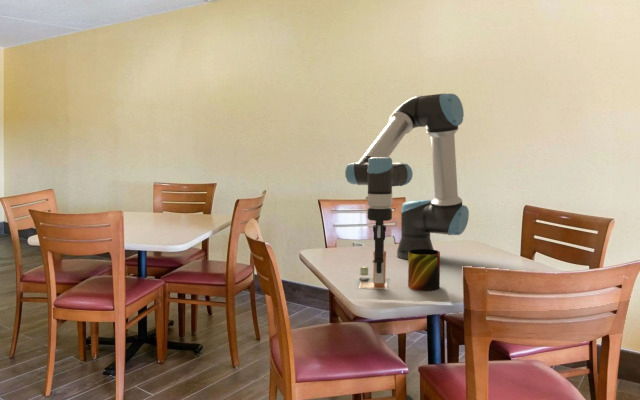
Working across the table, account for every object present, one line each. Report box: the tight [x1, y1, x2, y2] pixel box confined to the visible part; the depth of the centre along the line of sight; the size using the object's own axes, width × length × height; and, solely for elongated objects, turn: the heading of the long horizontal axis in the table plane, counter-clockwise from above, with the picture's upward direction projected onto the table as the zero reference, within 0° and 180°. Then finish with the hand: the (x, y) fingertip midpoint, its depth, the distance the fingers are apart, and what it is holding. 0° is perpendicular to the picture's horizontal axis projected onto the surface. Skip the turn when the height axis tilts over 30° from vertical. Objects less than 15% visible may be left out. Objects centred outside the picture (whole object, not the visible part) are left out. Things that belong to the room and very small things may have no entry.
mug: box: [407, 249, 441, 292], centre depth 154 cm, size 10×14×12 cm
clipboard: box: [356, 277, 390, 291], centre depth 158 cm, size 10×14×1 cm
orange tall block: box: [372, 250, 387, 287], centre depth 153 cm, size 4×4×11 cm
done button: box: [359, 265, 369, 276], centre depth 162 cm, size 3×3×2 cm
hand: (379, 281), depth 154 cm, fingers closed on orange tall block, 3 cm apart
